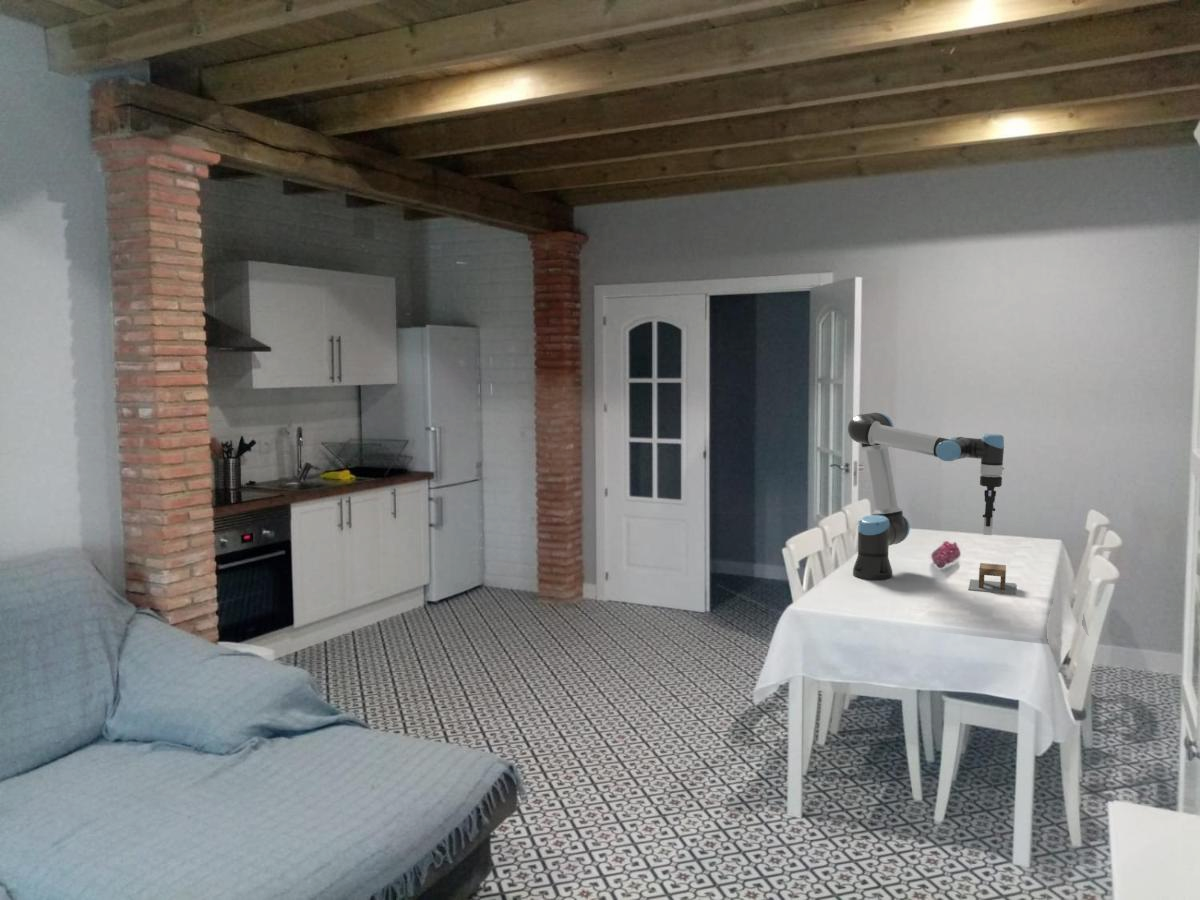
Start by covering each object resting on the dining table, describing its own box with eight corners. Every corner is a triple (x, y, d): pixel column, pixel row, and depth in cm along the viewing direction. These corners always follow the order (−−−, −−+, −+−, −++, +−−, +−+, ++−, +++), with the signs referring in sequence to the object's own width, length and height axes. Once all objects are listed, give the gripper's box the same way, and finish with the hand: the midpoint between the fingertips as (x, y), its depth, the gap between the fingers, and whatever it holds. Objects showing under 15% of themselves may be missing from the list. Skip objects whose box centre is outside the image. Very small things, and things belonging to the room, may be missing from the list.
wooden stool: (978, 587, 343) (979, 568, 342) (979, 582, 351) (980, 563, 350) (1004, 590, 339) (1005, 570, 339) (1005, 584, 348) (1006, 565, 347)
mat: (968, 590, 341) (968, 588, 341) (970, 580, 356) (970, 579, 356) (1015, 594, 335) (1015, 593, 335) (1015, 584, 349) (1015, 583, 349)
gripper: (1001, 480, 329) (998, 538, 332) (1002, 471, 352) (999, 526, 354) (979, 479, 332) (975, 536, 335) (981, 470, 355) (978, 524, 357)
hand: (988, 531), depth 345 cm, fingers open, 13 cm apart
